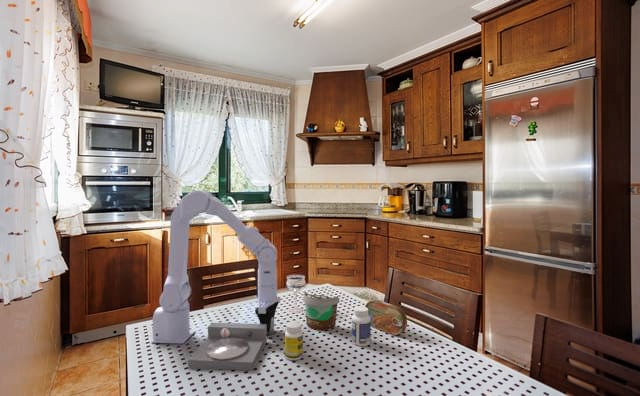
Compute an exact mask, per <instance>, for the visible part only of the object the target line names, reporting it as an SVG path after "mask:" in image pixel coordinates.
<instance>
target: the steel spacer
mask: <svg viewBox="0 0 640 396" xmlns="http://www.w3.org/2000/svg"><path fill="white" fill-rule="evenodd" d="M274 334H275V316H274V317H273V316H272V319H271V326H270V331H269V332H267V337H270V336H273V335H274Z"/></svg>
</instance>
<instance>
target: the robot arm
mask: <svg viewBox="0 0 640 396" xmlns="http://www.w3.org/2000/svg"><path fill="white" fill-rule="evenodd" d="M204 212H205V215H210V216H216V217H218V218H219V219H220V220H221V221H222V222H224V224H226V225H227V226H228V227H229V228H231V229H232V230H233V231H234V232H235V233H237V240H238V242H240V243H241V244H242V245H243V246H244V247H245V248H246V249H247V250H248V251H249V252H250V253H251V254H252V255H255V256H256V260H257V262H258V269H257V298H256V299H257V300H256V301H257V305H258V307H256V308H255V310H254V312H255V313H254V314H255V315H256V316H257V318H258V321H259V324H267V332H269V331H270V326H271V319H272V316H273V317H274V318H275V315H276V311H277V308H278V306H279V303H280V302H281V300H282V298H281V297H280V296H279V297H278V268H277V259H278V250H277V247H276V246H275V245H274V243H272V242H271V241H270V240H269V238H267V239H266V238H265V237H264V236H263V235H262V234H261V233H260V232H259V228H258V227H256V226H255V227H253V226H252V225H245V224H244V223H243V222H242V220H240V219H239V217H237V216H236V215H235V214H234V212H232V210H230V209H229V207H227V206H226V204H225V203H224V202H222V201H221V199H219V198H218V197H216V196H214V195H213V194H212V193H211V192H210V191H208V190H192V191H190V192H189V193H187V194H186V195H184V196H182V198H181V200H180V201H179V203H178V204H177V206H176V207H175V208H174V210H173V211H172V213H171V216H170V227H169V228H170V229H169V231H170V232H169V243H168V244H169V246H168V247H169V249H168V267H167V276H166V279H165V282H164V284H163V291H162V292H161V294H160V296H159V299H158V300H159V301H158V302H159V305H160V306H159V307H157V308H156V309H155V311H154V312H153V314H152V315H153V316H152V339H151V341H150V342H151V343H152V344H153V343H154V344H155V343H156V344H158V343H159V344H180V345H182V344H185V342H186V341H187V340H188V339H190V337H191V336H193V334H194V333H196V329H190V302H189V300H188V299H189V298H190V295H192V287H191V286H190V283H189V278H190V277H189V275H188V273H187V272H188V259H189V258H188V257H189V256H188V255H189V241H190V240H189V239H190V238H189V236H190V222H191V221H192V220H193V219H195V218H196V217H197V216H198V215H199V214H202V213H204Z"/></svg>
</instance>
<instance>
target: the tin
mask: <svg viewBox="0 0 640 396" xmlns="http://www.w3.org/2000/svg"><path fill="white" fill-rule="evenodd" d="M364 307H366V308H368V316H369V317H370V319H371V328H374V329H376V330H379V331H381V332H384V333H386V334H388V335H391V336H399V335H400V334H402V333H403V332H405V331H406V330H407V327H408V317H407V315H406V312H405V311H404V310H403V309H402V307H400V306H397V305H395V304H393V303H392V304H391V303H387V302H385V301H381V300H378V299H376V300H370V301H368V302H366V304H365V305H364Z"/></svg>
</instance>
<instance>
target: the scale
mask: <svg viewBox="0 0 640 396" xmlns="http://www.w3.org/2000/svg"><path fill="white" fill-rule="evenodd" d="M225 338H240V339H244V340H245V341H247V342H248V351H247V352H246V353H245V354H244V355H242V356H240V357H238V358H235V359H231V360H214V359H211V358H209V357H208V356H207V347H208V346H209V345H210V344H211V343H213V342H215V341H217V340H220V339H225ZM267 338H268V336H267V324H260V323H239V322H238V323H236V322H235V323H234V322H211V323H210V324H209V325H208V327H207V338H206V339H205V340H204V342H202V344H201V345H200V346H199V347H198V348H197V349H196V350H195V352H194V353H193V354H191V356H190V357H189V358H188V359H187V368H188V369H203V370H204V369H208V370H229V371H231V370H232V371H253V370H254V368H255V366H256V364H257V361H258V360H259V358H260V356H261V354H262V352H263V349H264V347H265V346H266V343H267V341H268V339H267Z"/></svg>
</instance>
